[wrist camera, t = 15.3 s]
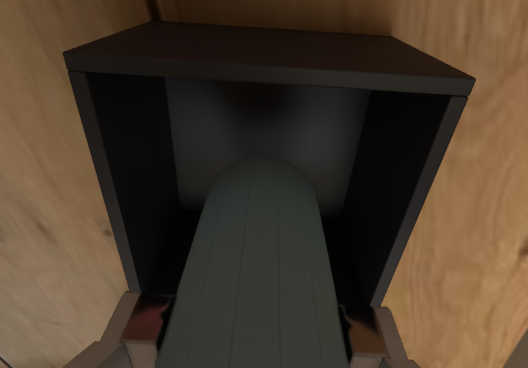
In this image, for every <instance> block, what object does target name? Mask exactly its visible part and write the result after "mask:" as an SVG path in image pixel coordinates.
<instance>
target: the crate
mask: <svg viewBox="0 0 528 368" xmlns="http://www.w3.org/2000/svg"><path fill="white" fill-rule="evenodd" d="M63 56H64V60H65V63H66V67H67V70H69V71H68V75H69V79H70V82H71V86H72V89H73V93H74V96H75V100H76V103H77V107H78V110H79V114H80V118H81V121H82V125H83V128H84V132H85V135H86V139H87V142H88V146H89V149H90V153H91V156H92V160H93V163H94V167H95V170H96V174H97V178H98V181H99V185H100V188H101V192H102V195H103V199H104V202H105V206H106V209H107V213H108V216H109V220H110V223H111V227H112V230H113V234H114V238H115V241H116V245H117V248H118V252H119V255H120V259H121V262H122V266H123V269H124V273H125V276H126V280H127V283H128V287H129V290H130V292H143V293H157V294H170V295H175V297H176V294H177V291H178V287H179V284H180V281H181V278H182V275H183V271H184V268H185V265H186V262H187V258H188V255H189V252H190V249H191V246H192V242H193V239H194V236H195V233H196V230H197V226H198V223H199V220H200V217H201V213H202V210H203V207H204V204H205V201H206V197H207V195H208V193H209V190H210V187H211V185H212V182H213V180H214V179H215V177H216V176H217V174H218V173H219V172H220V171H221V170H222V169H223V168H224V167H226V166H227V165H229V164H230V163H232V162H234V161H236V160H239V159H241V158H245V157H249V156H257V155H266V156H273V157H278V158H281V159H284V160H287V161H289V162H291V163H292V164H294V165H296V166H297V167H298V168H300V169H301V170H302V171H303V172H304V173H305V174H306V175H307V176H308V178H309V179H310V181H311V183H312V185H313V187H314V190H315V195H316V199H317V202H318V206H319V212H320V217H321V222H322V227H323V232H324V237H325V242H326V247H327V252H328V257H329V263H330V268H331V273H332V278H333V283H334V288H335V293H336V298H337V303H338V306H339V305H340V304H345V305H369V306H379V307H380V306H381V303H382V301H383V299H384V296H385V294H386V292H387V289H388V287H389V285H390V282H391V280H392V277H393V275H394V273H395V270H396V268H397V266H398V263H399V261H400V259H401V256H402V254H403V251H404V249H405V247H406V244H407V242H408V240H409V237H410V235H411V233H412V230H413V228H414V225H415V223H416V221H417V218H418V216H419V214H420V211H421V209H422V207H423V204H424V202H425V199H426V197H427V195H428V192H429V190H430V188H431V185H432V183H433V181H434V178H435V176H436V173H437V171H438V169H439V166H440V164H441V162H442V159H443V157H444V154H445V152H446V150H447V147H448V145H449V143H450V140H451V138H452V136H453V133H454V131H455V128H456V126H457V124H458V121H459V119H460V117H461V114H462V112H463V110H464V107H465V105H466V102H467V100H468V97H467V96H469V95H470V93H471V91H472V88H473V86H474V84H475V81H476V78H474V77H472V76H470V75H468V74H466V73H464V72H462V71H460V70H458V69H456V68H454V67H452V66H450V65H448V64H446V63H444V62H442V61H440V60H438V59H436V58H434V57H432V56H430V55H428V54H426V53H424V52H422V51H420V50H418V49H416V48H414V47H412V46H410V45H408V44H406V43H404V42H402V41H400V40H398V39H396V38H394V37H392V36H381V35H366V34H351V33H335V32H320V31H305V30H289V29H274V28H258V27H243V26H228V25H212V24H197V23H182V22H166V21H149V22H147V23H144V24H141V25H138V26H135V27H132V28H130V29H127V30H124V31H121V32H118V33H115V34H113V35H110V36H107V37H104V38H101V39H98V40H96V41H93V42H90V43H87V44H84V45H81V46H79V47H76V48H73V49H70V50H67V51H64V52H63Z"/></svg>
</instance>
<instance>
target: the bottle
mask: <svg viewBox="0 0 528 368" xmlns="http://www.w3.org/2000/svg"><path fill="white" fill-rule="evenodd" d="M154 368H350V365H349V360H348V355H347V350H346V345H345V339H344V334H343V329H342V324H341V319H340V314H339V309H338V303H337V298H336V293H335V288H334V283H333V278H332V273H331V268H330V263H329V257H328V252H327V247H326V242H325V237H324V232H323V227H322V222H321V217H320V212H319V206H318V202H317V199H316V195H315V190H314V187H313V185H312V183H311V181H310V179H309V178H308V176H307V175H306V174H305V173H304V172H303V171H302V170H301V169H300V168H298V167H297V166H296V165H294V164H292V163H291V162H289V161H287V160H284V159H281V158H278V157H273V156H266V155H257V156H249V157H245V158H241V159H239V160H236V161H234V162H232V163H230V164H229V165H227V166H226V167H224V168H223V169H222V170H221V171H220V172H219V173H218V174H217V176H216V177H215V179H214V180H213V182H212V185H211V187H210V190H209V193H208V195H207V197H206V201H205V204H204V207H203V210H202V213H201V217H200V220H199V223H198V226H197V230H196V233H195V236H194V239H193V242H192V246H191V249H190V252H189V255H188V258H187V262H186V265H185V268H184V271H183V275H182V278H181V281H180V284H179V287H178V291H177V294H176V297H175V301H174V304H173V307H172V310H171V314H170V317H169V320H168V323H167V326H166V329H165V333H164V336H163V339H162V342H161V346H160V349H159V352H158V355H157V358H156V361H155V364H154Z"/></svg>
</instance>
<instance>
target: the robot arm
mask: <svg viewBox="0 0 528 368" xmlns="http://www.w3.org/2000/svg"><path fill="white" fill-rule="evenodd" d="M174 301H175V295H170V294H157V293H143V292H130V291H126V292H125V293H124V294H123V295H122V297H121V299H120V301H119V303H118V305H117V307H116V309H115V311H114V313H113V315H112V317H111V319H110V321H109V323H108V326H107V328H106V330H105V332H104V334H103V336H102V338H101V340H100V341H95V342H93V343H92V344H91V345H90V346H88V347H87V348H86V349H85V350H84V351H82V352H81V353H80V354H79V355H77V356H76V357H75V358H74V359H73V360H71V361H70V362H69V363H68V364H67V365H65V366H64V367H63V368H154V364H155V361H156V358H157V355H158V352H159V349H160V346H161V342H162V339H163V336H164V333H165V329H166V326H167V323H168V320H169V317H170V314H171V310H172V307H173V304H174ZM338 309H339V314H340V319H341V324H342V329H343V334H344V339H345V345H346V350H347V355H348V360H349V365H350V368H420V367H419V366H418V364H417V363H416V362H415V361H414V360H408V358H407V355H406V352H405V349H404V346H403V344H402V341H401V338H400V335H399V332H398V330H397V327H396V324H395V321H394V318H393V316H392V313H391V310H390V309H389V308H388V307H379V306H369V305H345V304H340V305H339V306H338Z"/></svg>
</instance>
